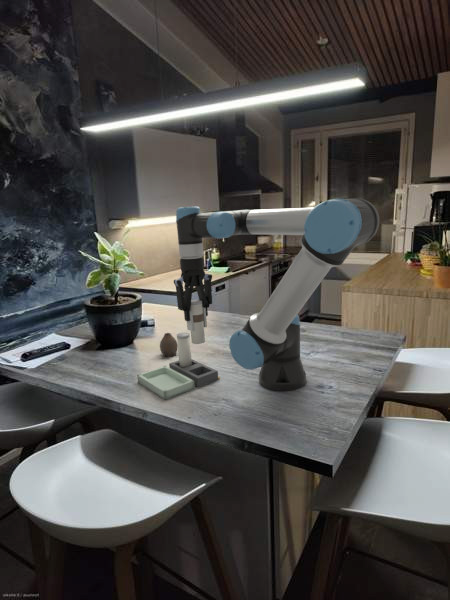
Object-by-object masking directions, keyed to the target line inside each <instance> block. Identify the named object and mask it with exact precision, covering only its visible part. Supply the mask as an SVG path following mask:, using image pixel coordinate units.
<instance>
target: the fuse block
mask: <svg viewBox="0 0 450 600" xmlns="http://www.w3.org/2000/svg"><path fill="white" fill-rule="evenodd" d="M168 365H169V366H168V367H169V368H171V369H173V370H175V371H177V372H178V373H180V374H182V375H184V376H186V377H188V378H190V379H192V380H194V384H195V387H202V386H205V385H207V384H210V383H212V382H215V381H218V380H220V378H221V377H220V376H219V371H218V370H217V369H214V368H212V367H210V366H207V365H205V364H203V363H201V362H198V361H197V360H195V359H192V365H191V366H188V367H185V368H181V367H179V360H176V361H173V362H170V363H168Z"/></svg>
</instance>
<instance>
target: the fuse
mask: <svg viewBox="0 0 450 600" xmlns="http://www.w3.org/2000/svg"><path fill="white" fill-rule="evenodd" d="M176 342H177V346H178V348H177V354H178V361H179V367H181V368H185V367H188V366H191V365H192V360H193V359H192V349H191V348H192V347H191V333H189V332H179V333H177V334H176Z"/></svg>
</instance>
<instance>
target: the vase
mask: <svg viewBox="0 0 450 600" xmlns="http://www.w3.org/2000/svg"><path fill="white" fill-rule="evenodd" d="M159 350H160V353H161V354H162V355H163V356H165V357H173V356H175V355H176V353H178V344H177V339H176V338H175V337H174V336H173V334H172V333H170V332H166V333H164V335H163V337H162V338H161V340H160V342H159Z"/></svg>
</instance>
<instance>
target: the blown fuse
mask: <svg viewBox="0 0 450 600" xmlns="http://www.w3.org/2000/svg"><path fill="white" fill-rule="evenodd" d="M190 311H193V324H194V331H190V341H191V343H192V345H193V344H194V345H200V344H201V345H202V344H204V343H205V342H206V338H205V335H206V334H205V327H204V321H203V320H204V319H203V308H202V300H199V299H191V307H190Z"/></svg>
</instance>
